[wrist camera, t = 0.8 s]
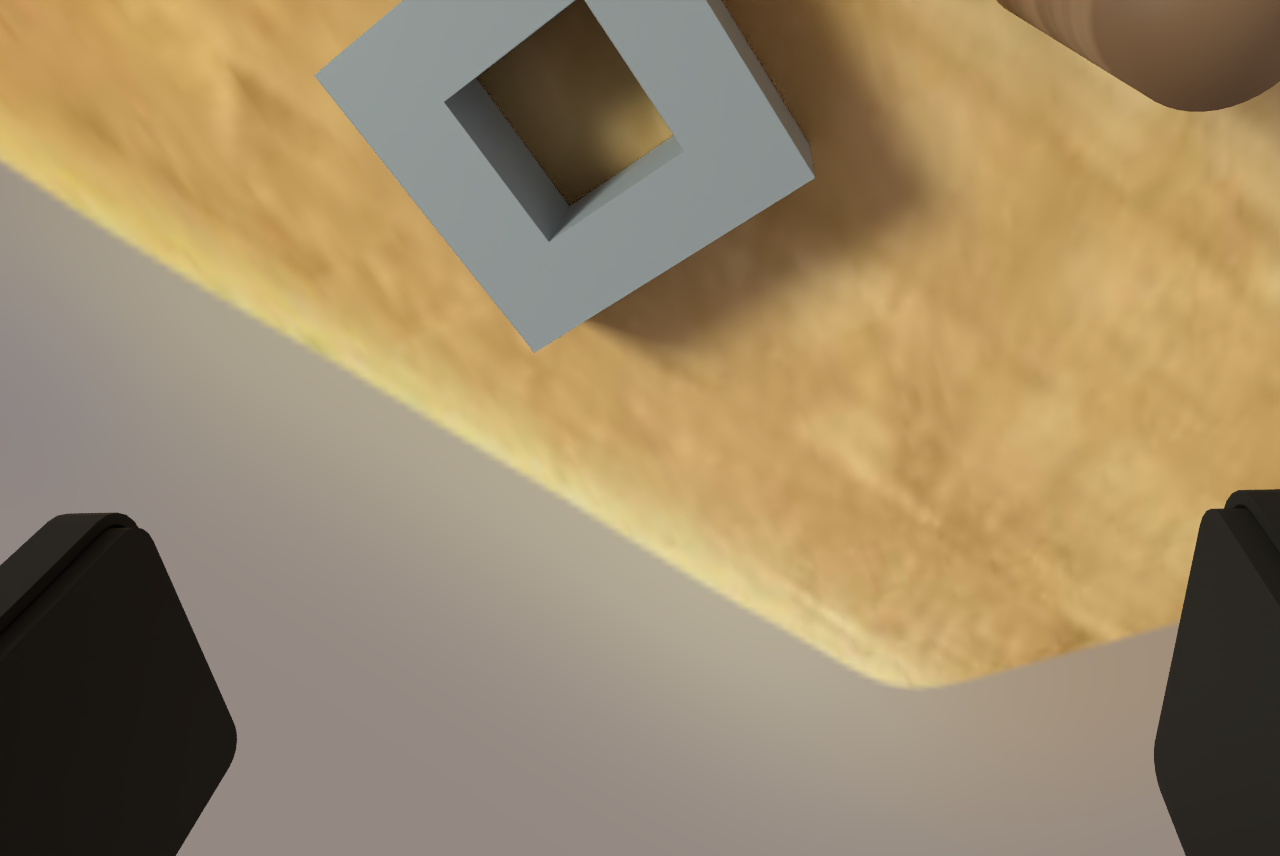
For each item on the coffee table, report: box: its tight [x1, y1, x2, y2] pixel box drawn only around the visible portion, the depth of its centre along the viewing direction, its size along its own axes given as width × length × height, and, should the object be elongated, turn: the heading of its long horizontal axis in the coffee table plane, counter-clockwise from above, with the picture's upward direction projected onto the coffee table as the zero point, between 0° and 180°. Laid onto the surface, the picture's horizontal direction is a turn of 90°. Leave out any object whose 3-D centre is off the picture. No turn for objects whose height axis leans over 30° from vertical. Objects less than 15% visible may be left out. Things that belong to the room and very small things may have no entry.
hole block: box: [314, 0, 815, 353], centre depth 29 cm, size 10×10×4 cm
